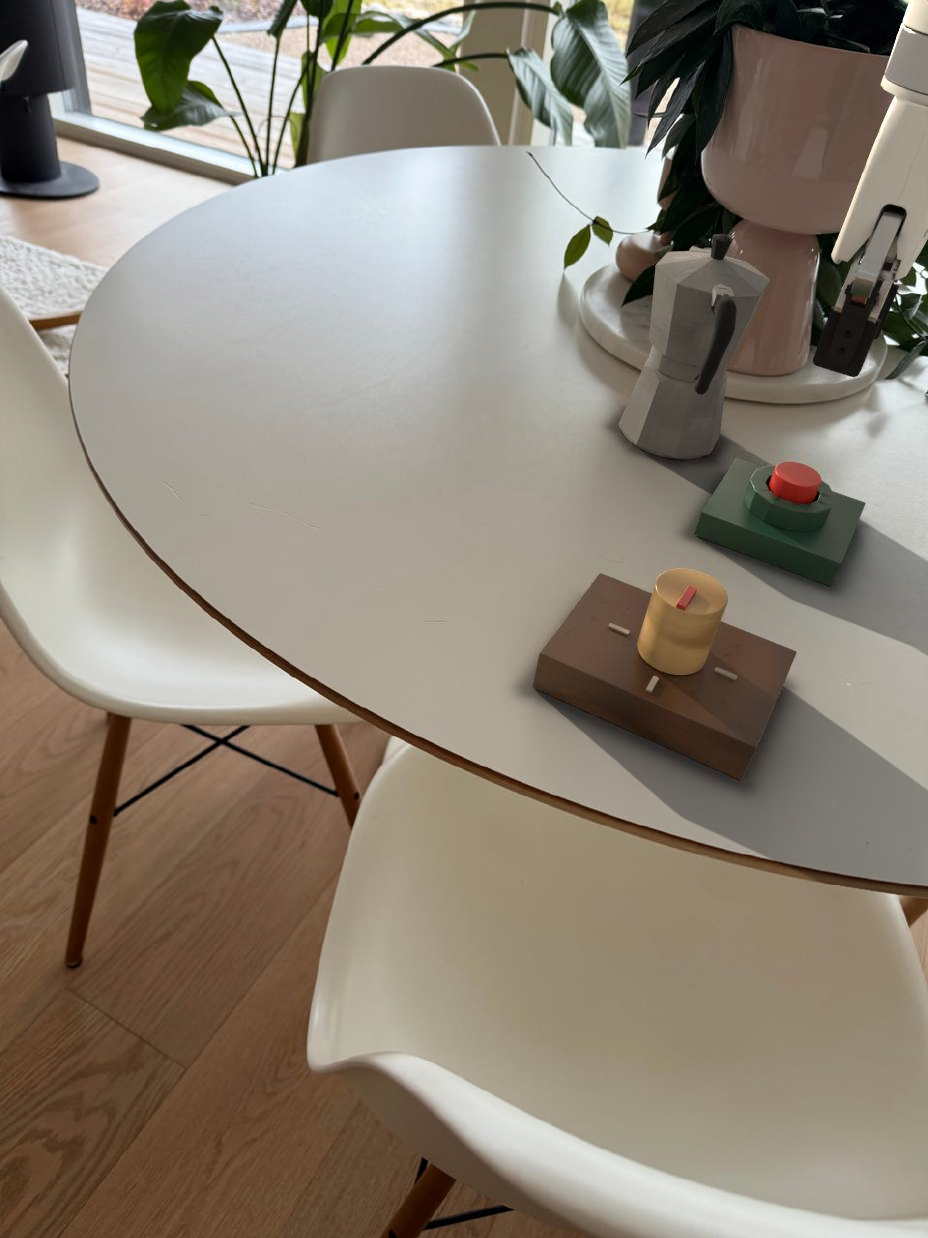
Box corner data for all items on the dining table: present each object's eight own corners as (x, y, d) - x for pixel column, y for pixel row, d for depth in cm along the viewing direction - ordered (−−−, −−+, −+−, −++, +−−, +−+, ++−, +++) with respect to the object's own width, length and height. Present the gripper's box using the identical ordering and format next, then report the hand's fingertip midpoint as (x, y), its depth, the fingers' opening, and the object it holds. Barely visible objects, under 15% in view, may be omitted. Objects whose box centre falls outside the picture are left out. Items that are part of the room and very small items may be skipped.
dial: (651, 619, 66) (671, 555, 62) (714, 646, 64) (738, 581, 61) (626, 656, 63) (646, 591, 59) (692, 685, 61) (716, 620, 58)
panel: (782, 684, 67) (798, 649, 65) (742, 781, 60) (757, 745, 58) (590, 604, 71) (599, 569, 69) (531, 687, 64) (539, 651, 62)
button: (818, 490, 79) (826, 471, 78) (808, 511, 77) (816, 492, 76) (774, 474, 81) (781, 456, 79) (763, 494, 78) (770, 475, 77)
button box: (856, 524, 83) (874, 483, 80) (830, 586, 76) (849, 544, 73) (729, 479, 86) (742, 438, 84) (693, 534, 79) (707, 492, 77)
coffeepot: (611, 392, 96) (656, 199, 84) (708, 404, 96) (766, 213, 85) (624, 480, 84) (678, 270, 72) (734, 493, 84) (805, 286, 73)
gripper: (912, 38, 67) (820, 297, 78) (863, 79, 54) (762, 379, 66) (1030, 63, 64) (917, 326, 76) (1007, 112, 52) (876, 416, 64)
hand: (846, 348), depth 71 cm, fingers open, 6 cm apart
